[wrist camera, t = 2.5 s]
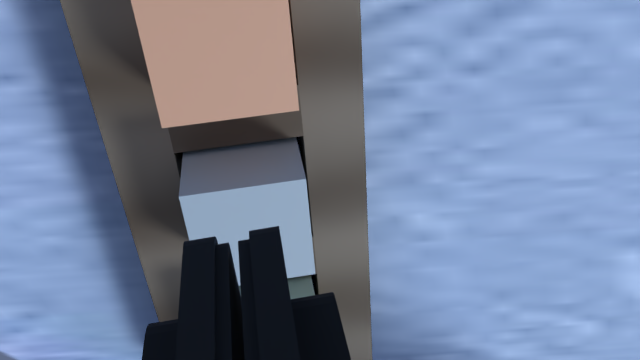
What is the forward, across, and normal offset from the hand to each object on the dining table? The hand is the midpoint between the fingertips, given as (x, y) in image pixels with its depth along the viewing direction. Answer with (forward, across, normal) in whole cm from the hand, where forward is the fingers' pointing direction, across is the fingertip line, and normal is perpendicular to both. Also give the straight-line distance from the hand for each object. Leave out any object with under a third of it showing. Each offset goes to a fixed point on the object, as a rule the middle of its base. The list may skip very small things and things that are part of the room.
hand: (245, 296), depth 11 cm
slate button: (+16, 0, +7) cm, 18 cm away
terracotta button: (+16, 0, -1) cm, 16 cm away
